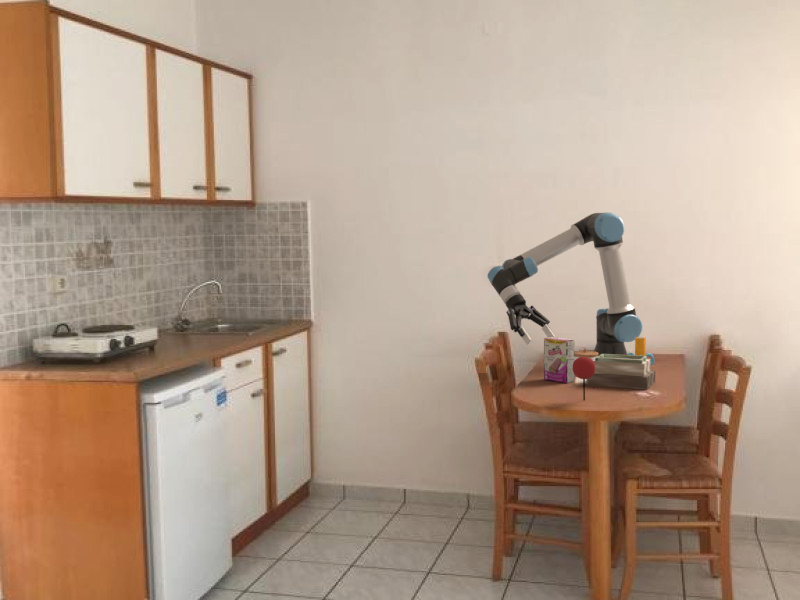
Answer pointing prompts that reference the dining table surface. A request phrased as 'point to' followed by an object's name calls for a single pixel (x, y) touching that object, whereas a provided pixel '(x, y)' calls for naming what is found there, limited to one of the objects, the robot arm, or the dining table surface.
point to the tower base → (622, 381)
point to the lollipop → (583, 369)
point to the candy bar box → (558, 359)
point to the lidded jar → (585, 354)
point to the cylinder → (641, 348)
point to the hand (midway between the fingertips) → (541, 340)
